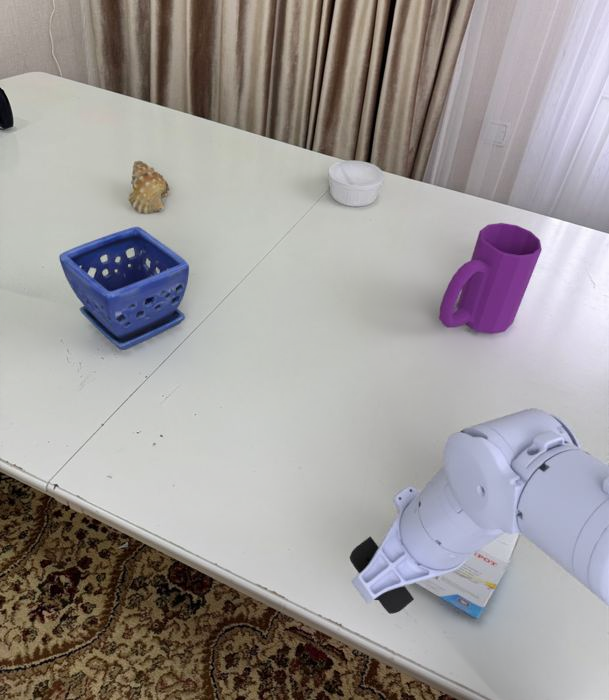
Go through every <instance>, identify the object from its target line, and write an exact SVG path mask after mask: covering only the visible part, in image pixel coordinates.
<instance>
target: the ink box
mask: <svg viewBox="0 0 609 700" xmlns="http://www.w3.org/2000/svg"><path fill="white" fill-rule="evenodd" d="M521 536H522V533H521V534H519V533H515V534H513V535H512V534H510V535H507V534H506V533H504V534H502V535H501V536H500V537H498V538H497V539H495V540H494V541H492V542H491V543H489V544H488V545H486V546H485V547H483V548H482V549H481V550H479V551H478V552H476V553H475V554H473V555H472V556H470V557H469V558H468V559H467V561H466V562H465V563H464V564H463V565H462V566H461V567H459V568H458V569H456V570H455V571H453V572H450V573H448V574H444V575H441V576H437V577H434V578H430V579H427V580H423V581H420V582H417V583H415V584H416V585H418V586H419V587H421V588H423V589H425V590H427V591H428V592H430V593H432V594H433V595H434V596H437V597H439V598H441V599H442V600H443V601H446V602H447V603H449V604H451V605H452V606H454V607H455V608H457V609H458V610H460V611H463V612H464V613H466V614H468V615H469V616H470V617H472V618H474V619H476V620H477V619H479V618H480V616H481V615H482V612H483V610H484V609H485V607H486V605H487V604H488V602H489V600H490V599H491V597H492V595H493V593H494V591H495V589H496V588H497V586H498V585H499V582H500V581H501V579H502V577H503V576H504V574H505V572H506V570H507V569H508V568H509V565H510V564H511V562H512V559H513V557H514V554H515V551H516V550H517V547H518V544H519V541H520V539H521Z"/></svg>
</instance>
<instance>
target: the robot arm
mask: <svg viewBox="0 0 609 700" xmlns="http://www.w3.org/2000/svg"><path fill="white" fill-rule="evenodd" d="M392 502H393V503H392V504H393V505H394V507H396V509H397V515H396V517H395V519H394V520H393V522H392V524H391V525H390V527H389V529H388V531H387V533H386V534H385V536H384V537H383V539H382V540H381V543H380V544H379V546H378V544H377V543H376V541H375V540H374V538H373V537H372V536H369V537H367V538H366V539H365V540H363V541H362V542H360V543H359V544H358V545H357V546H355V548H353V550H352V551H351V553H350V555H349V561H350V563H351V564H352V566H353V567H354V568H355V570H356V571H357V573H358V574H357V575H356V576H355V577H354V578H353V579H352V580H351V584H352V585H353V587H354V588H355V589H356V591H357V592H358V593H359V595H360V596H361V597H362V599H363V600H364V602H365V603H366V604H367V605H369V604H370V603H371V602H372V601H378V602H379V603H380V604H381V606H382V608H383V609H384V610H385V611H386V612H387V613H388V614H390V615H393V614H396V613H400V612H401V611H402V610H403V609H405V608H406V607H407V606H408V605H409V604H410V603H412V602H413V601H414V600H415V599H414V596H413V595H412V594H411V592H410V591H409V590H408V589H407V587H406V586H409V585H412V584H416V583H417V582H420V581H423V580H427V579H430V578H434V577H437V576H441V575H444V574H448V573H450V572H453V571H455V570H456V569H458V568H459V567H461V566H462V565H463V564H464V563H465V562H466V561H467V559H468V558H469V557H470V556H472V555H473V554H475V553H476V552H478V551H479V550H481V549H482V548H483V547H485V546H486V545H488V544H489V543H491V542H492V541H494V540H495V539H497V538H498V537H500V536H501V535H502V534H504V533H506V534H507V535H510V534H512V535H513V534H515V533H519V534H521V535H522V536H524V537H525V538H526V539H527V540H529V541H530V542H531V543H532V545H534V546H536V548H538V549H539V550H541V551H542V552H543V553H544V554H545V555H547V556H548V557H549V558H550V559H551V560H553V561H554V562H555V563H556V564H557V565H558V566H560V567H561V568H562V569H563V570H564V571H566V572H567V573H568V574H569V575H570V576H572V578H574V579H575V580H576V581H577V582H579V583H580V584H581V585H583V587H585V588H586V589H587V590H589V592H591V593H592V594H593V595H595V597H596V598H598V599H599V600H601V601H602V602H603V603H604V604H605V605H606V606H607V607H609V464H608V463H606V462H604V461H603V460H601V459H599V458H597V457H595V456H594V455H592V454H591V453H589V452H587V451H585V450H584V449H582V447H581V444H580V442H579V440H578V438H577V436H576V435H575V433H574V431H573V430H572V429H571V427H570V426H569V425H568V424H567V423H566V422H565V421H564V420H563V419H561V418H560V417H558V416H557V415H554V414H551V413H549V412H546V411H545V410H542V409H539V408H526V409H523V410H519V411H516V412H513V413H510V414H507V415H503V416H501V417H500V416H499V417H497V418H494V419H490V420H488V421H484V422H481V423H478V424H475V425H471V426H468V427H464V428H462V429H461V430H459V431H457V432H454V433H452V434H451V435H449V437H448V438H447V440H446V442H445V444H444V447H443V467H441V468H440V470H439V471H438V472H437V473H436V474H435V475H434V476H433V477H432V478H431V479H430V481H428V483H426V484H425V486H424V488H422V490H421V491H418V490H417V489H416V488H415V487H414V486H412V485H409V486H406V487H405V488H404V489H402V490H400V492H398V493H396V495H395V496H394V497H393V501H392Z"/></svg>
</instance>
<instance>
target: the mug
mask: <svg viewBox="0 0 609 700" xmlns="http://www.w3.org/2000/svg"><path fill="white" fill-rule="evenodd" d="M541 253H542V243H541V239H539V237H537V236H536V235H535V234H534V233H533V232H532V231H531V230H529V229H527V228H524V227H521V226H520V225H517V224H511V223H505V222H497V223H489V224H487V225H485V226H484V227H483V228H481V229H480V230H479V232H478V236H477V239H476V242H475V245H474V249H473V252H472V255H471V259H470V260H469V261H467V262H465V263H463V264H462V265H461V266H460V267H459V268H458V269H456V271H455V273H453V275H452V277H451V279H450V280H449V283H448V284H447V287H446V289H445V291H444V294H443V296H442V299H441V303H440V307H439V313H438V314H439V315H438V320H439V321H440V322H441V323H442V325H443V326H444V327H445V328H448V329H449V328H451V329H453V328H457V327H461V326H463V325H466V326H468V327H469V328H471V329H472V330H473V331H476V332H478V333H484V334H489V335H495V334H498V333H504V332H506V331H507V330H508V329H509V328H510V327H511V326H512V325H513V324H514V322H515V319H516V317H517V314H518V311H519V309H520V307H521V304H522V301H523V299H524V296H525V294H526V292H527V288H528V286H529V284H530V281H531V278H532V276H533V273H534V271H535V269H536V265H537V263H538V260H539V258H540V256H541ZM455 307H456V310H455Z"/></svg>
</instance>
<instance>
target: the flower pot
mask: <svg viewBox="0 0 609 700" xmlns="http://www.w3.org/2000/svg"><path fill="white" fill-rule="evenodd" d="M131 249H133V251H134V255H133V256H129V257H128V254H127V251H129V250H131ZM105 255H106V258H107V260H105V261H103V262H102V259H101V258H102V257H104V256H105ZM117 258H119V261H116V259H117ZM58 259H59V263H60V266H61V268H62V271H63V274H64V276H65V279H66V280H67V283H68V284H69V286H70V288H71V289H72V291H73V293H74V295H75V296H76V297H77V298H78V300H79V301H80V302H81V304H82V306H81V307H80V308H79V311H80V313H81V314H82V315H83V316H84V317H85V318H86V319H87V320H88V321H89V322H90V323H91V324H92V325H93V326H95V328H96V329H97V330H98V331H99V332H100V333H102V335H103V336H104V337H105V338H106V339H107V340H109V341H110V343H112V344H113V345H114V346H115V347H116V348H118V349H119V350H120V351H126V350H128V349H130V348H132V347H136V346H137V345H139V344H141V343H143V342H145V341H148V340H149V339H152V338H154V337H156V336H158V335H160V334H162V333H164V332H166V331H168V330H171V329H172V328H174V327H176V326H178V325H179V324H181V323H182V322H183V321H184V320H185V319H186V315H185V314H184V312H183V311H181V310H180V309H179V306H180V305H181V303H182V301H183V298H184V296H185V293H186V290H187V286H188V283H189V282H188V281H189V276H190V274H189V273H190V264H189V263H188V262H187V261H186V260H185V259H184V258H183V257H182V256H180V255H179V254H178V253H177V252H175V251H174V250H173V249H171V248H170V247H169V246H167V245H166V244H164V243H163V242H162V241H160V240H159V239H157V238H156V237H154V236H153V235H152V234H150V233H149V232H147V231H146V230H145V229H143V228H141V227H140V226H132V227H128V228H126V229H123V230H120V231H117V232H116V231H115V232H114V233H110V234H108V235H106V236H102V237H100V238H97V239H94V240H91V241H88V242H85V243H83V244H80V245H77V246H75V247H72V248H70V249H68V250H65V251H63V252H62V253H60V254H59V256H58ZM147 260H148V261H149V265H148V264H147ZM129 265H130V266H129ZM91 268H92V269H95V271H94V275H93V277H92V276H91V275H90V274H89V271H90V269H91ZM157 269H158V271H159V272H157ZM106 270H107V274H106V275H104V271H106ZM116 270H117V271H116Z"/></svg>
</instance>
